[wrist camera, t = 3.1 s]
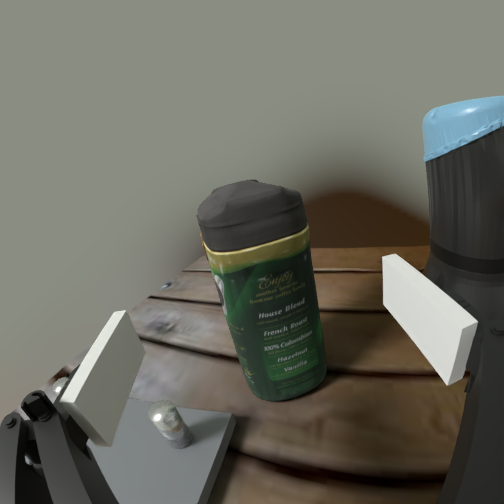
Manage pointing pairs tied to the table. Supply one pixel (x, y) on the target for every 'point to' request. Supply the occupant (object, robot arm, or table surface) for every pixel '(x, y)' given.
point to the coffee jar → (266, 285)
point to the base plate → (163, 452)
